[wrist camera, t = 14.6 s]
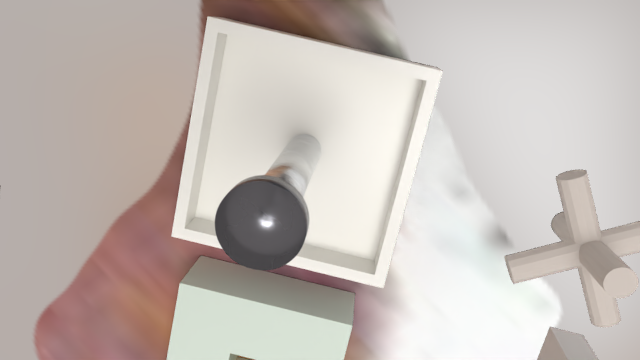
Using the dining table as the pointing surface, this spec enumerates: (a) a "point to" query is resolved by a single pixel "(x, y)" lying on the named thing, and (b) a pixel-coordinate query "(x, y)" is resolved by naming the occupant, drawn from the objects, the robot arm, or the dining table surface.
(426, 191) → the dining table surface
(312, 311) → the block
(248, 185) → the steel pin
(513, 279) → the pipe connector
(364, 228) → the tray
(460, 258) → the dining table surface
